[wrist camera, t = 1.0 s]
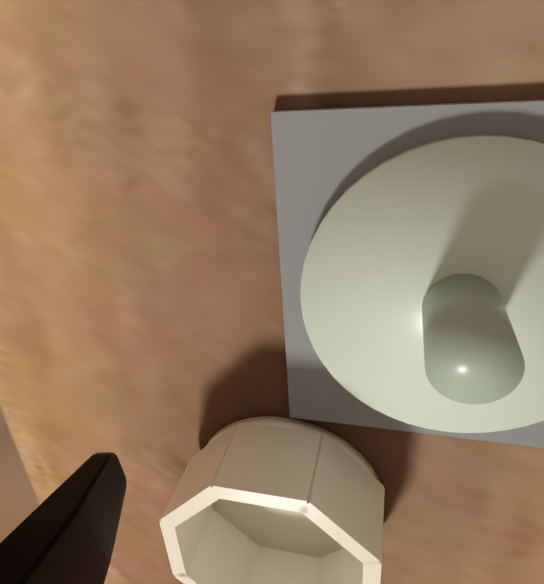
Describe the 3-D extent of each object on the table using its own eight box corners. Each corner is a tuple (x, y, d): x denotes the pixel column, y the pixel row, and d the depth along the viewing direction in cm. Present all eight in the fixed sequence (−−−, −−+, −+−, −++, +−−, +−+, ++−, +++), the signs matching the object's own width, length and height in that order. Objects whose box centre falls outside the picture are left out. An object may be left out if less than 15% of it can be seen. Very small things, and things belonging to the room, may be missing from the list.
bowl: (388, 429, 24) (384, 514, 20) (379, 565, 29) (375, 655, 25) (188, 405, 27) (147, 475, 22) (212, 533, 32) (182, 610, 27)
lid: (703, 127, 15) (815, 161, 11) (600, 437, 21) (648, 535, 17) (297, 139, 18) (265, 167, 14) (308, 404, 24) (288, 479, 20)
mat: (743, 90, 15) (753, 92, 14) (615, 448, 21) (619, 457, 21) (273, 110, 18) (270, 111, 18) (291, 410, 25) (289, 417, 25)
